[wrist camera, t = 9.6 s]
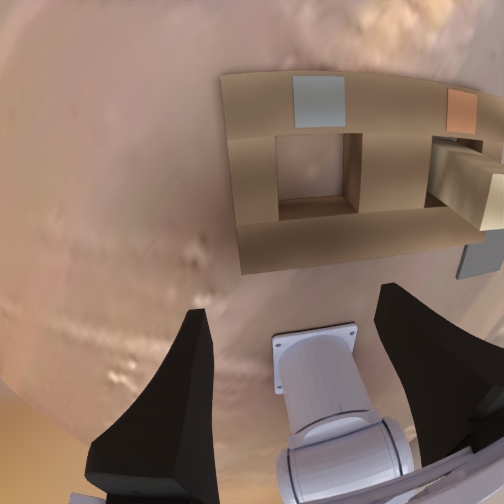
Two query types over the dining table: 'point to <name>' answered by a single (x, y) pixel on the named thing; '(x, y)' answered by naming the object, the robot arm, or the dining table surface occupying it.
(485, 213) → the birch plug
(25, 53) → the dining table surface
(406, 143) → the socket board
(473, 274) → the mat
